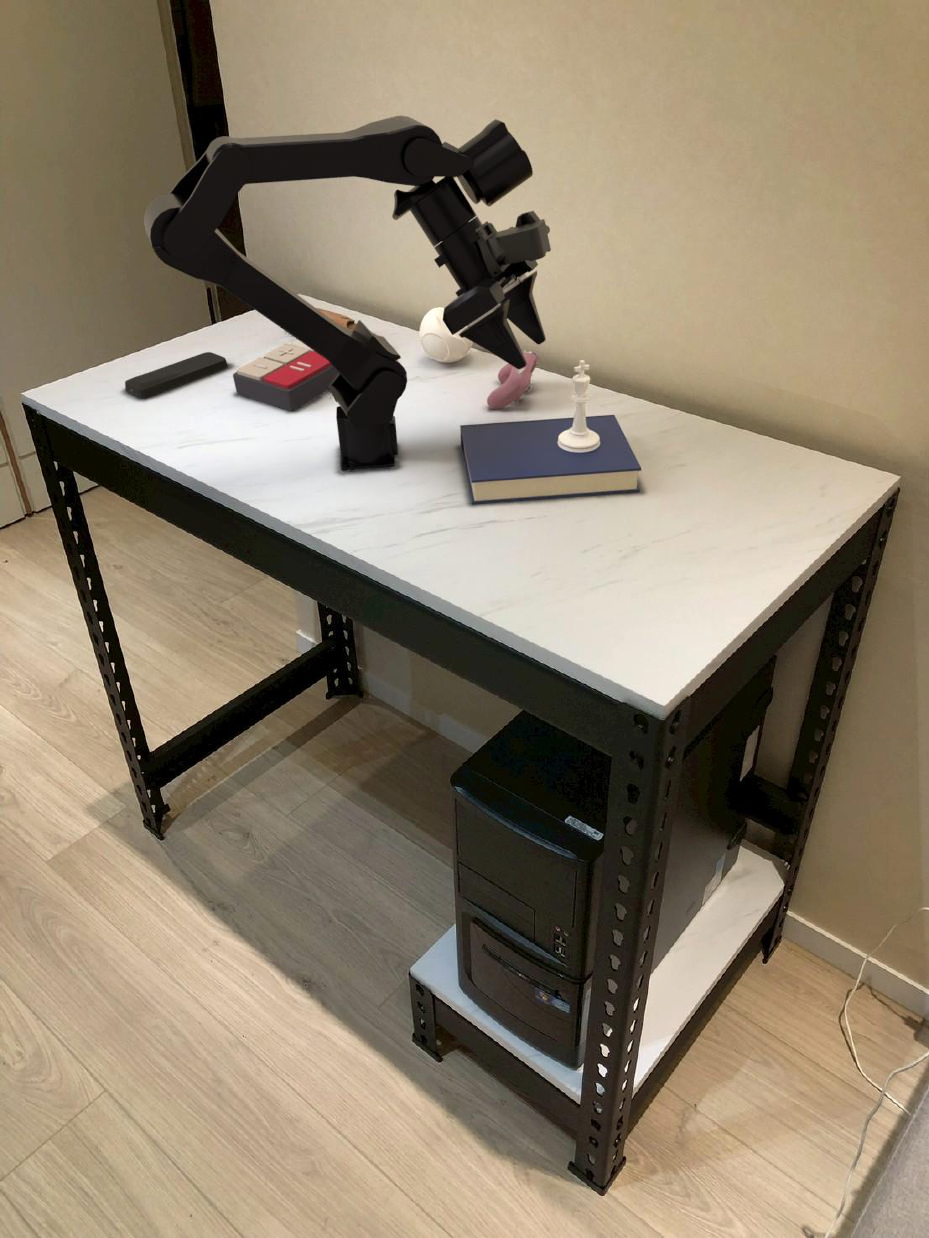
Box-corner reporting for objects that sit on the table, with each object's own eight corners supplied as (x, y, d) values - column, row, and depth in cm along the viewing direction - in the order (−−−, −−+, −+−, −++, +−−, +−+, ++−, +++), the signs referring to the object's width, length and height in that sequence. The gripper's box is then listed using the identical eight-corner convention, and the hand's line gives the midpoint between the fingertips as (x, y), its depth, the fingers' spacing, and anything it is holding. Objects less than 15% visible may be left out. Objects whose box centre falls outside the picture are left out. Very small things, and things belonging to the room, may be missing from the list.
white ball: (472, 370, 140) (471, 317, 135) (419, 372, 140) (416, 319, 135) (473, 349, 146) (471, 298, 142) (422, 351, 146) (419, 299, 142)
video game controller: (513, 422, 129) (538, 379, 125) (483, 406, 129) (506, 362, 125) (525, 392, 137) (548, 350, 133) (496, 376, 137) (518, 334, 132)
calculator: (229, 369, 134) (305, 329, 143) (236, 398, 136) (309, 357, 145) (287, 386, 128) (362, 344, 137) (293, 416, 131) (365, 372, 140)
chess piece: (550, 439, 115) (552, 357, 109) (586, 430, 117) (590, 349, 111) (570, 456, 112) (573, 372, 106) (607, 447, 113) (613, 364, 107)
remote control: (211, 362, 147) (122, 390, 138) (209, 350, 146) (120, 378, 137) (231, 370, 144) (141, 399, 135) (229, 358, 143) (139, 387, 134)
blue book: (472, 504, 110) (471, 480, 108) (460, 447, 121) (460, 425, 119) (639, 491, 111) (641, 468, 109) (612, 436, 122) (614, 414, 120)
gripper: (490, 204, 95) (575, 342, 99) (535, 174, 110) (607, 295, 114) (405, 267, 101) (489, 395, 105) (459, 230, 116) (530, 344, 120)
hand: (533, 354), depth 111 cm, fingers open, 9 cm apart
